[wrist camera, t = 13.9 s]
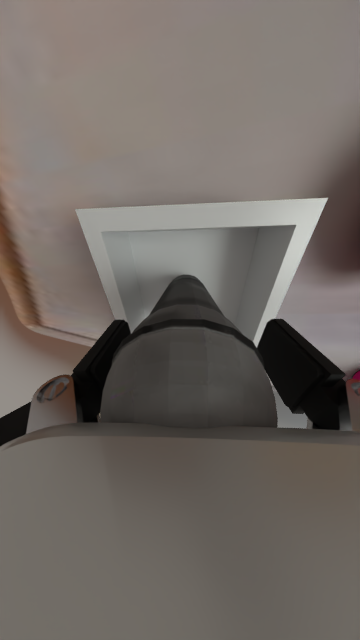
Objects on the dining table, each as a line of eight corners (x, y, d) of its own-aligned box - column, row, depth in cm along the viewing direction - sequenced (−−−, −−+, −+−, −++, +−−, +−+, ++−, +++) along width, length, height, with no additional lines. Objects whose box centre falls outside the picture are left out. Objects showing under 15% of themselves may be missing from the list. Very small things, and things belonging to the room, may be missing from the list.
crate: (117, 218, 13) (75, 209, 8) (270, 212, 12) (327, 198, 7) (143, 334, 21) (131, 364, 16) (237, 334, 21) (253, 366, 16)
